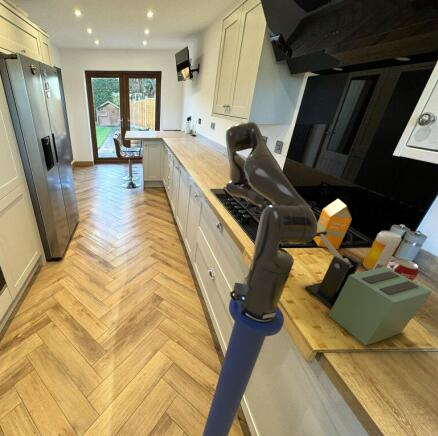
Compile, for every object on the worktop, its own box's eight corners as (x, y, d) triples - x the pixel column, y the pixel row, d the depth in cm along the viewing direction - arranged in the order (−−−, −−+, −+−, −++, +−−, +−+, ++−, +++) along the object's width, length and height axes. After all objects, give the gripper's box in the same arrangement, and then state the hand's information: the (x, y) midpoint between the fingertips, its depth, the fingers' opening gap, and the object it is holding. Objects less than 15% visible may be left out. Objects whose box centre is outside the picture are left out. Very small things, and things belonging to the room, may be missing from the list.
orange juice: (317, 246, 103) (335, 204, 94) (311, 236, 111) (327, 196, 102) (338, 249, 101) (358, 207, 92) (330, 239, 109) (348, 199, 100)
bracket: (304, 288, 78) (320, 251, 72) (322, 284, 81) (339, 248, 74) (334, 311, 70) (355, 272, 63) (353, 306, 72) (375, 267, 66)
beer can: (375, 264, 92) (394, 231, 86) (386, 274, 87) (407, 239, 80) (358, 262, 93) (375, 229, 87) (368, 271, 88) (387, 237, 81)
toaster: (328, 315, 69) (349, 274, 62) (361, 305, 72) (385, 265, 66) (365, 345, 60) (395, 301, 53) (401, 333, 64) (433, 290, 57)
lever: (309, 235, 76) (315, 231, 74) (321, 233, 78) (326, 229, 76) (338, 271, 69) (345, 268, 67) (350, 269, 70) (357, 265, 68)
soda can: (407, 299, 76) (428, 269, 70) (388, 299, 75) (407, 269, 70) (386, 284, 82) (404, 256, 76) (368, 285, 81) (385, 256, 76)
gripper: (249, 190, 94) (280, 205, 81) (277, 187, 98) (312, 202, 85) (245, 207, 98) (274, 225, 84) (272, 204, 102) (305, 220, 88)
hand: (293, 213), depth 84 cm, fingers open, 8 cm apart
